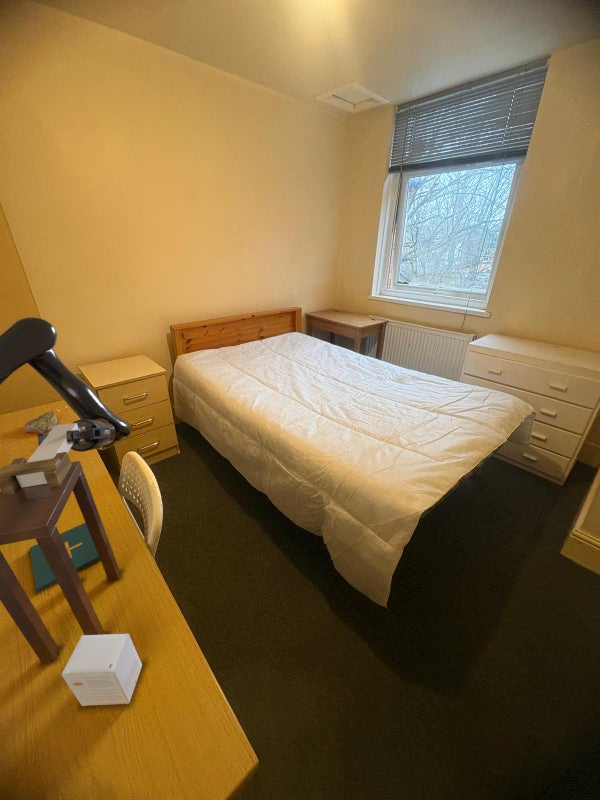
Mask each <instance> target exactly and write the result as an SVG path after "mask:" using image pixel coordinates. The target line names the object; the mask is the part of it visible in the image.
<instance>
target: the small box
mask: <svg viewBox="0 0 600 800" xmlns="http://www.w3.org/2000/svg"><path fill="white" fill-rule="evenodd" d="M142 667H143V663H142V661H141V658H140V657H139V654H138V651H137V648H136V647H135V645H134V642H133V640H132V638H131V636H130V634H129V633H105V634H104V635H84V634H82V635H81V636H80V638H79V640H78V641H77V644H76V646H75V647H74V649H73V652H72V653H71V655H70V657H69V659H68V661H67V663H66V664H65V667H63V670H62V672H61V673H60V674H61V677H62V678H63V680H64V682H65V683H66V684H67V686H68V688H69V689H70V691H71V692H72V693H73V695H74V697H75V698H76V699H77V702H79V704H80V706H82V707H86V706H106V705H128V704H130V702H131V700H132V697H133V694H134V691H135V688H136V685H137V682H138V679H139V677H140V673H141V672H142V671H141V670H142Z"/></svg>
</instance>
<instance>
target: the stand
mask: <svg viewBox="0 0 600 800" xmlns="http://www.w3.org/2000/svg"><path fill="white" fill-rule="evenodd" d="M27 461H28V460H27V459H26V457H19V458H14V459H13V460H12V461H11V462H10V463H9V464H6V465H3V466H2V467H1V468H0V546H5V545H9V544H14V543H19V542H24V541H29V540H35V541H36V543H37V544H38V545H39V547H40V549H41V551H42V553H43V555H44V557H45V559H46V561H47V563H48V565H49V567H50V568H51V570H52V572H53V574H54V576H55V578H56V580H57V582H56V583H57V584H58V587H59V588H60V590H61V592H62V594H63V596H64V598H65V600H66V602H67V604H68V606H69V607H70V610H71V612H72V614H73V616H74V617H75V620H76V621H77V623H78V626H79V627H80V629H81V631H82V633H83V635H104V634H106V633H105V630H104V628H103V626H102V624H101V621H100V619H99V617H98V615H97V613H96V611H95V608H94V606H93V604H92V602H91V599H90V598H89V596H88V593H87V591H86V589H85V586H84V584H83V581H82V580H81V577H80V575H79V573H78V571H76V568H75V566H74V564H73V562H72V560H71V557H70V555H69V553H68V551H67V549H66V547H65V544H64V542H63V540H62V538H61V536H60V534H61V533H60V532H59V528H58V527H57V523H58V522H59V519H60V517H61V515H62V513H63V511H64V509H65V507H66V505H67V502H68V501H69V499H70V497H71V494H72V493H73V495H74V497H75V500H76V502H77V506H78V508H79V510H80V512H81V515H82V518H83V520H84V523H86V525H87V528H88V530H89V533H90V535H91V538H92V540H93V543H94V545H95V548H96V550H97V553H98V555H99V558H100V560H99V561H100V563H101V565H102V568H103V570H104V573H105V576H106V578H107V580H108V582H114V581H117V580H119V579H120V576H121V575H120V574H121V571H120V568H119V564H118V563H117V559H116V556H115V554H114V551H113V548H112V546H111V542H110V540H109V537H108V534H107V532H106V529H105V527H104V524H103V521H102V518H101V515H100V513H99V510H98V507H97V504H96V502H95V499H94V496H93V493H92V491H91V488H90V486H89V483H88V480H87V477H86V475H85V471H84V469H83V466H82V463H81V461H80V460H77V461H71V459H70V457H69V453H67V452H61V453H57V454H56V455H55V457H54V458H53V459H48V460H41V461H34V462H27ZM26 462H27V463H26ZM43 471H45V472H44V477H45V479H46V481H47V483H48V484H42V485H35V486H29V487H23V488H21V486H20V484H19V482H18V480H17V478H16V475H23V474H29V473H36V472H43ZM0 602H1V604H2V606H3V607H4V608H5V610H6V611H7V613H8V614H9V616H10V617H11V619H12V620H13V622H14V623H15V626H17V628H18V629H19V631H20V633H21V634H22V635H23V637H24V639H25V640H26V641H27V643H28V645H29V646H30V648H31V649H32V650H33V652H34V653H35V655H36V657H37V658H38V659H39V661H40V662H41V664H42V665H45V664H48V663H51V662H55V661H56V659H57V656H58V653H59V650H60V648H59V646H58V645H57V643H56V642H55V640H54V638H53V636H52V635H51V633H50V631H49V630H48V628H47V626H46V625H45V623H44V621H43V620H42V618H41V616H40V614H39V613H38V611H37V609H36V608H35V606H34V605H33V602H32V601H31V599H30V597H29V596H28V594H27V593H26V591H25V589H24V588H23V586H22V584H21V583H20V581H19V579H18V578H17V576H16V575H15V573H14V570H13V569H12V567H11V566H10V564H9V562H8V561H7V558H5V556H4V554H3V552H2V551H1V550H0Z"/></svg>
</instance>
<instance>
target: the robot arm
mask: <svg viewBox="0 0 600 800" xmlns="http://www.w3.org/2000/svg"><path fill="white" fill-rule="evenodd" d="M57 341H58V333H57V330H56V328H55V326H54V325H53V324H52V323H51V322H49V321H48V320H46V319H44V318H42V317H35V316H34V317H31V316H29V317H23V318H19V319H18V320H16V321H15V322H13V323H12V324H11V326H10V327H9V328H7V329H6V330H5V331H4V332H3V333H1V334H0V386H1V385H2V384H3V383H4V382H5V381H6V380H7V379H8V378H9V377H10V376H11V375H12V374H13V373H15V372H16V371H17V370H19V369H20V368H22V367H23V366H24V365H26V364H28V366H30V367H31V368H32V369H33V370H34V371H35V372H37V373H38V375H40V376H41V377H42V378H43V379H44V380H45V381H46V382H47V383H48V384H49V385H50V386H51V387H52V388H53V390H55V392H56V393H58V395H59V396H60V397H61V398H62V399H63V400H64V402H65V403H66V404H67V405H68V406H69V408H70V409H71V410H72V411H73V412H74V413H75V414H76V415H77V417H78V418H79V419H77V420H75V421H73V422H72V423H77V425H78V428H79V430H71V431H67V432H66V434H67V441H68V442H72V441H75V442H74V443H73V445H72V447H71V448H70V450H73V451H74V452H81V453H82V452H89V451H93V450H100V451H105V450H108V449H110V448H111V447H113V446H114V445H116V444H118V443H120V442H121V441H124V440H125V439H126V438H128V437H129V436H130V435H131V433H132V428H131V425H130V423H129V422H128V421H127V420H125V419H124V418H123V417H122V416H120V415H119V414H117V413H116V412H114V411H113V410H112V409H110V408H109V407H108V406H107V405H106V404H105V403H104V402H103V401H102V400H101V398H100V397H99V396H98V395H97V394H96V392H95V391H94V390H93V388H91V386H89V385H88V384H87V383H86V382H85V380H83V379H81V378H80V377H79V375H76V374H75V373H74V372H73V371H72V370H71V369H69V368H68V367H67V365H66V364H65V363H64V362H63V361H62V360H61V359H60V358H59V356H58V355H57V353H56V351H55V349H54V347H55V345H56V344H57ZM100 419H101V420H100ZM102 420H103V421H102ZM49 433H50V432H46V433H39V434H37V444H38V446H39V445H40V444H41V443H42V442H43V440H44V439H45V438H46V437H47V435H48V434H49Z"/></svg>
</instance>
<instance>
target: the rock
mask: <svg viewBox="0 0 600 800" xmlns="http://www.w3.org/2000/svg"><path fill="white" fill-rule="evenodd" d="M57 422H58V418H57V416H56V413H54V411H53V410H49V411H47V412H44V413H43V414H41V415H39V416H38V417H35V418H34V419H31V420H29V421H27V422H26V423H25V425H24V427H23V428H24V430H25V431H26V432H27V433H39V434H46V433H49V432H50V431H51V430H52V429H53V427H54V426H55V425H57Z"/></svg>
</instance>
